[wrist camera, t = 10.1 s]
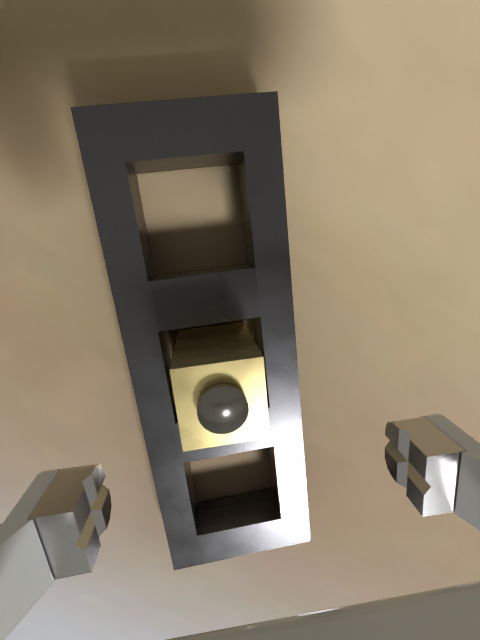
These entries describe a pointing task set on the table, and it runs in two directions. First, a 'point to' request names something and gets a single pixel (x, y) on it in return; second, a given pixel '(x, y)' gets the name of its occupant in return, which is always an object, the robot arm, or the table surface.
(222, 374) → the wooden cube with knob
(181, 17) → the table surface
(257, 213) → the grey flat slotted block
